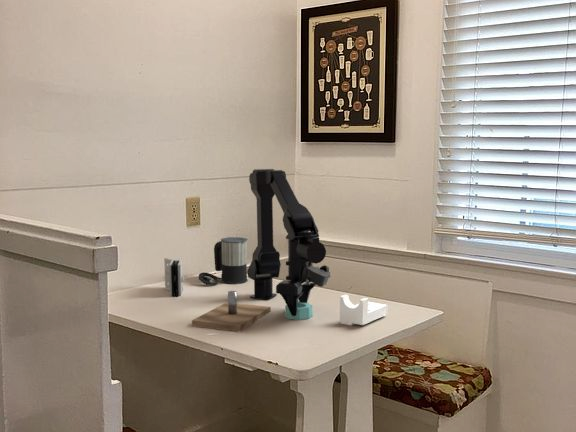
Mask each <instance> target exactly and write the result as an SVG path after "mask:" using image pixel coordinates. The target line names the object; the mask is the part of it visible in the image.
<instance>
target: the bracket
mask: <svg viewBox="0 0 576 432" xmlns="http://www.w3.org/2000/svg"><path fill="white" fill-rule="evenodd" d="M386 315H388V304H382V303H377V302H372V301H369V298H368V297H364V298H361V299H360V300H359V303H357V304H353V303H352V301H350V299H349V294H344V295H340V296H339V323H340V324H343V325H348V326H353V325H360V326H365V325H366V324H368V323H371V322H373V321H375V320H377V319H380V318H382V317H385V316H386Z"/></svg>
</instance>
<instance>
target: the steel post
mask: <svg viewBox="0 0 576 432" xmlns="http://www.w3.org/2000/svg"><path fill="white" fill-rule="evenodd" d="M227 302H228V314H231V315H233V314H237V303H238V292H237V291H236V290H229V291H227Z"/></svg>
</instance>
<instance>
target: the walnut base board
mask: <svg viewBox="0 0 576 432" xmlns="http://www.w3.org/2000/svg"><path fill="white" fill-rule="evenodd" d="M271 311H272V307H271V306H266V305H265V306H264V305H256V304H248V303H238V302H237V314H233V315H231V314H228V301H227V302H225V303H223V304H221V305H219V306H217V307H215V308H213V309H211V310H209V311H207V312H205V313H204V314H202V315H200V316H198V317H195V318H193V319H191V326H192V327H199V328H200V327H201V328H209V329H214V328H215V330H222V329H224V331H231V330H232V331H233V332H239V331H240V332H241V331H243V330H244V329H246V328H247V326H248V327H249V326H251V325H252V324H254V323H256V322H257V321H259V320H261V319H262V318H264V317H265V316H267V315H268V314H270V313H271ZM263 316H264V317H263ZM258 319H259V320H258ZM255 321H256V322H255ZM250 324H251V325H250Z"/></svg>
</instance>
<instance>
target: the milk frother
mask: <svg viewBox="0 0 576 432" xmlns="http://www.w3.org/2000/svg"><path fill="white" fill-rule="evenodd" d="M247 246H248V238H245V237H241V236H239V237H236V236H230V237H229V236H227V237H223V238H220V241H217V242H215V244H214V247H213V254H214V257H213V258H214V269H215V271H216V272H221V276H220V277H218V276H216V275H214V274H211V273H209V272H199V274H198V280H199V281H200V282H201V283H203V284H205V286H216V285H218V284H219V282H221V283H224V284H232V285H236V284H237V285H238V284H243V283H246V282H248V280H249V278H248V273H247V270H248V268H247V264H248V263H247V259H248V258H247V257H248V249H247V248H248V247H247ZM212 279H213V280H214V281H213V280H212ZM219 280H220V281H219Z"/></svg>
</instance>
